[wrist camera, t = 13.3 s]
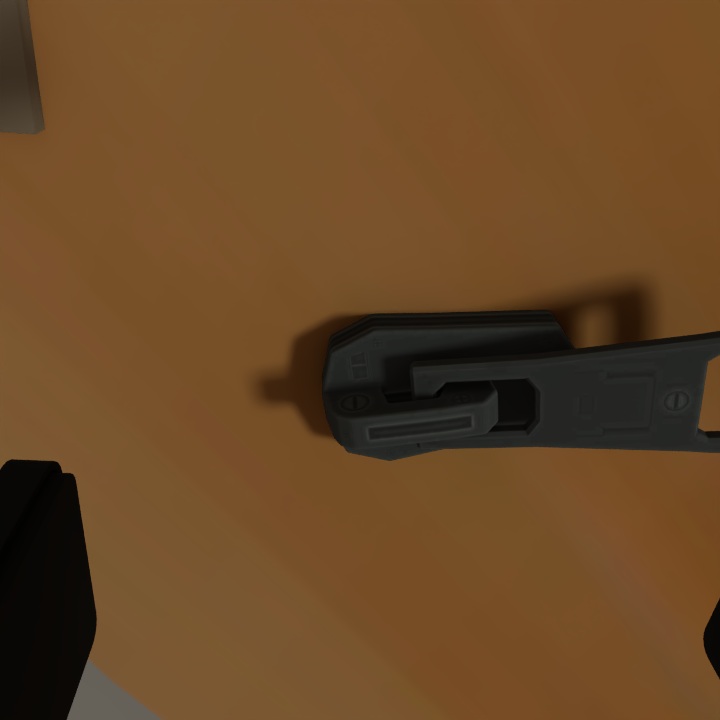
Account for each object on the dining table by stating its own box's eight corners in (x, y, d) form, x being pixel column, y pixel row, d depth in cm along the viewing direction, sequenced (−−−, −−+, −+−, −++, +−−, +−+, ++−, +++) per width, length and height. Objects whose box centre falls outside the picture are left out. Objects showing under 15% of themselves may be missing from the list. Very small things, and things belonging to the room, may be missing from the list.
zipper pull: (792, 464, 37) (335, 518, 38) (730, 397, 43) (334, 445, 44) (828, 317, 33) (310, 381, 34) (754, 265, 39) (313, 320, 39)
